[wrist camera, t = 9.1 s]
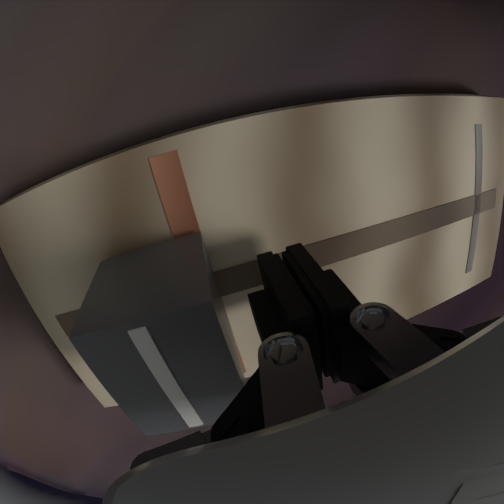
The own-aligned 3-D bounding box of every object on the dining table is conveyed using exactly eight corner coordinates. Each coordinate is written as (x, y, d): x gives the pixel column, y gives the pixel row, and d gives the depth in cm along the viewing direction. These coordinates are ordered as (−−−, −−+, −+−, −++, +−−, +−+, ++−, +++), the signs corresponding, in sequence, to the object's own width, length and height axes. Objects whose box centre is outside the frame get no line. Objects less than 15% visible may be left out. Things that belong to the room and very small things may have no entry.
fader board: (479, 94, 13) (504, 98, 11) (472, 263, 19) (490, 276, 17) (7, 199, 11) (-15, 213, 9) (108, 382, 16) (104, 408, 14)
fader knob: (200, 231, 11) (212, 302, 7) (233, 333, 13) (254, 415, 9) (101, 261, 11) (67, 339, 7) (149, 355, 13) (146, 437, 9)
